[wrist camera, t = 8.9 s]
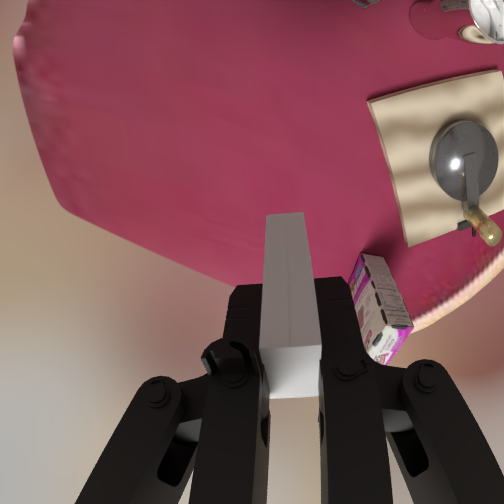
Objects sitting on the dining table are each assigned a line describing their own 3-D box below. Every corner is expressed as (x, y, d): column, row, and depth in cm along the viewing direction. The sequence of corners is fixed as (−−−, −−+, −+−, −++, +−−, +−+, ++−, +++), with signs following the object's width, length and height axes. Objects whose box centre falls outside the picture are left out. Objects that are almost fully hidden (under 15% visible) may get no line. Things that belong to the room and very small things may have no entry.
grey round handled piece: (422, 127, 33) (456, 148, 26) (485, 112, 30) (524, 130, 22) (437, 236, 42) (461, 271, 35) (491, 216, 39) (519, 247, 32)
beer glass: (448, 7, 23) (513, 0, 11) (448, 48, 27) (515, 56, 15) (405, -8, 24) (463, -28, 11) (406, 35, 28) (467, 31, 15)
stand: (366, 101, 34) (372, 103, 32) (494, 69, 27) (504, 71, 25) (404, 241, 46) (409, 250, 44) (509, 199, 39) (517, 206, 37)
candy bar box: (364, 301, 55) (382, 373, 41) (340, 299, 55) (353, 373, 41) (385, 255, 48) (416, 328, 35) (360, 251, 48) (385, 326, 35)
